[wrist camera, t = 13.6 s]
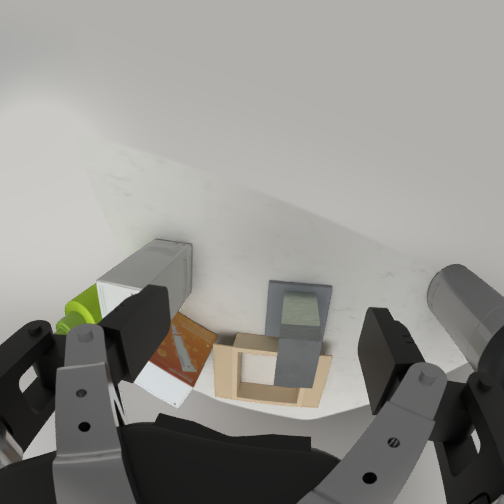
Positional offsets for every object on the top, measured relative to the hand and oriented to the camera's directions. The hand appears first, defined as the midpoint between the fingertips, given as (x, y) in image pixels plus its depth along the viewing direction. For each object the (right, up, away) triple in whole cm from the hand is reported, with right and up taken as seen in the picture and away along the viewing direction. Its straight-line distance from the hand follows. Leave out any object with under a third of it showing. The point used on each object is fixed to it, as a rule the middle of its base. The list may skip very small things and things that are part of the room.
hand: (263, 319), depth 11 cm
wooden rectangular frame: (+3, -16, +35) cm, 38 cm away
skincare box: (-12, 0, +32) cm, 34 cm away
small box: (-11, -11, +35) cm, 39 cm away
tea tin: (+6, -6, +30) cm, 31 cm away
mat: (+6, -6, +31) cm, 32 cm away
